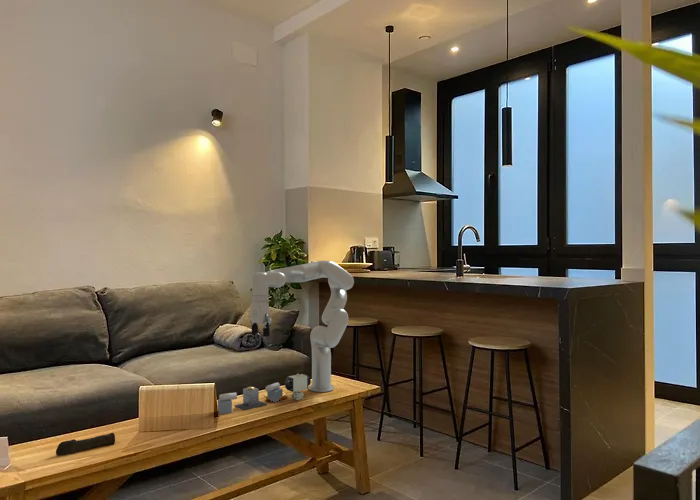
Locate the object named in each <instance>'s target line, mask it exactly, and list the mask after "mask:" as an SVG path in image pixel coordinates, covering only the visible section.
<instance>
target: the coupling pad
mask: <svg viewBox="0 0 700 500" xmlns="http://www.w3.org/2000/svg"><path fill="white" fill-rule="evenodd" d="M264 406H268V403H266V402H263V401H262V400H259V404H258V405H254V406H250V407H249V406H246V405H244V404H243V402H242V403H237V404H234V408H237V409H240V410H242V411H247V410H248V411H249V410H251V409H256V408H259V407H264Z"/></svg>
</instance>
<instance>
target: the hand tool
mask: <svg viewBox="0 0 700 500" xmlns="http://www.w3.org/2000/svg"><path fill="white" fill-rule="evenodd" d="M115 443H116V435H115V433H114V432H110V433H107V434H102V435H97V436H95V437H89V438H86V439H78V440H76V439H69V440H65V441H61V442H60V443H59V444H58V445H57V447H56V449H55V455H56V456H66V455H73V454H75V453H76V452H79V451H83V450H87V449H92V448H97V447H101V446H107V445H111V444H112V445H115Z"/></svg>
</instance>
